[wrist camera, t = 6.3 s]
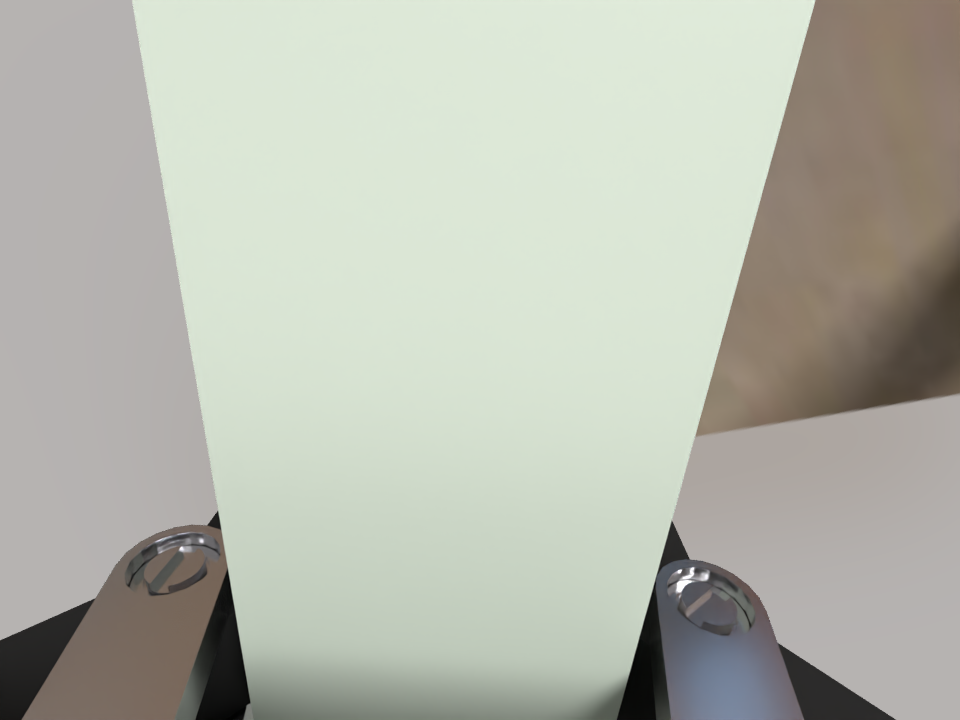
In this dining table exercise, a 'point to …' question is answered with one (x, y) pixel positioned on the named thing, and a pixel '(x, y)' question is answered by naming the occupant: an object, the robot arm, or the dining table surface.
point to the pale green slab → (456, 323)
